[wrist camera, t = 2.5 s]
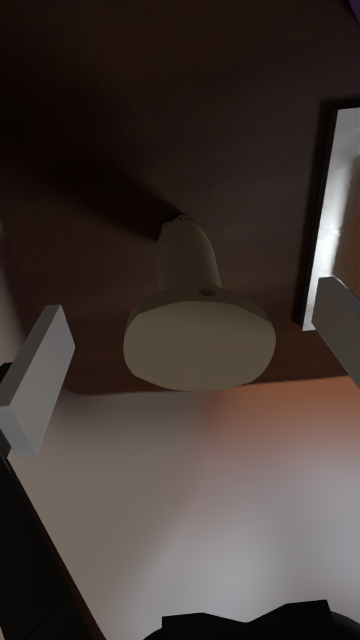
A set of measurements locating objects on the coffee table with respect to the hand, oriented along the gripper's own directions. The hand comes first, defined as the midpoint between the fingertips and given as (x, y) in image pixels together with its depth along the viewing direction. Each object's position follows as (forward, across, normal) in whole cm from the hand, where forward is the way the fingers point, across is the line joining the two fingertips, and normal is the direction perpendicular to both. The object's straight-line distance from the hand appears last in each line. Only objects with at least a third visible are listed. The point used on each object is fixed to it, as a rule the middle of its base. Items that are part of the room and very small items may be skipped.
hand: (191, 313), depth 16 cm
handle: (+12, 0, 0) cm, 12 cm away
